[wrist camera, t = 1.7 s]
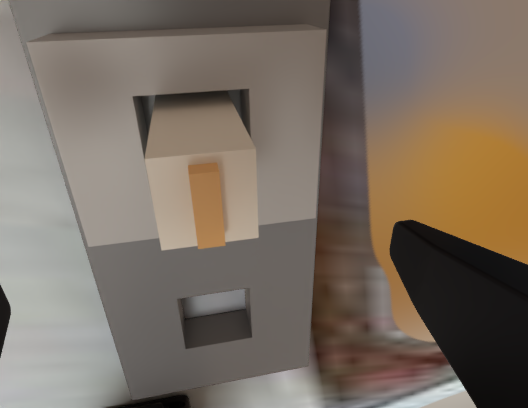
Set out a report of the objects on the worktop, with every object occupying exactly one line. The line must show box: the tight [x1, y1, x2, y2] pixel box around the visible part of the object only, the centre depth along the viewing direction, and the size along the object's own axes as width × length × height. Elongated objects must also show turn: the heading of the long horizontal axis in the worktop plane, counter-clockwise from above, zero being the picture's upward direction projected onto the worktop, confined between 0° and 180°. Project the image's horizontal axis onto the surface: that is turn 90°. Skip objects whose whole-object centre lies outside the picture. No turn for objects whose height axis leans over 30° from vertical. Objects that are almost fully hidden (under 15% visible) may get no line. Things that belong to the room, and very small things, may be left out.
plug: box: [145, 91, 259, 251], centre depth 14 cm, size 3×3×8 cm
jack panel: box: [8, 0, 330, 400], centre depth 20 cm, size 24×12×5 cm, turn 1°
